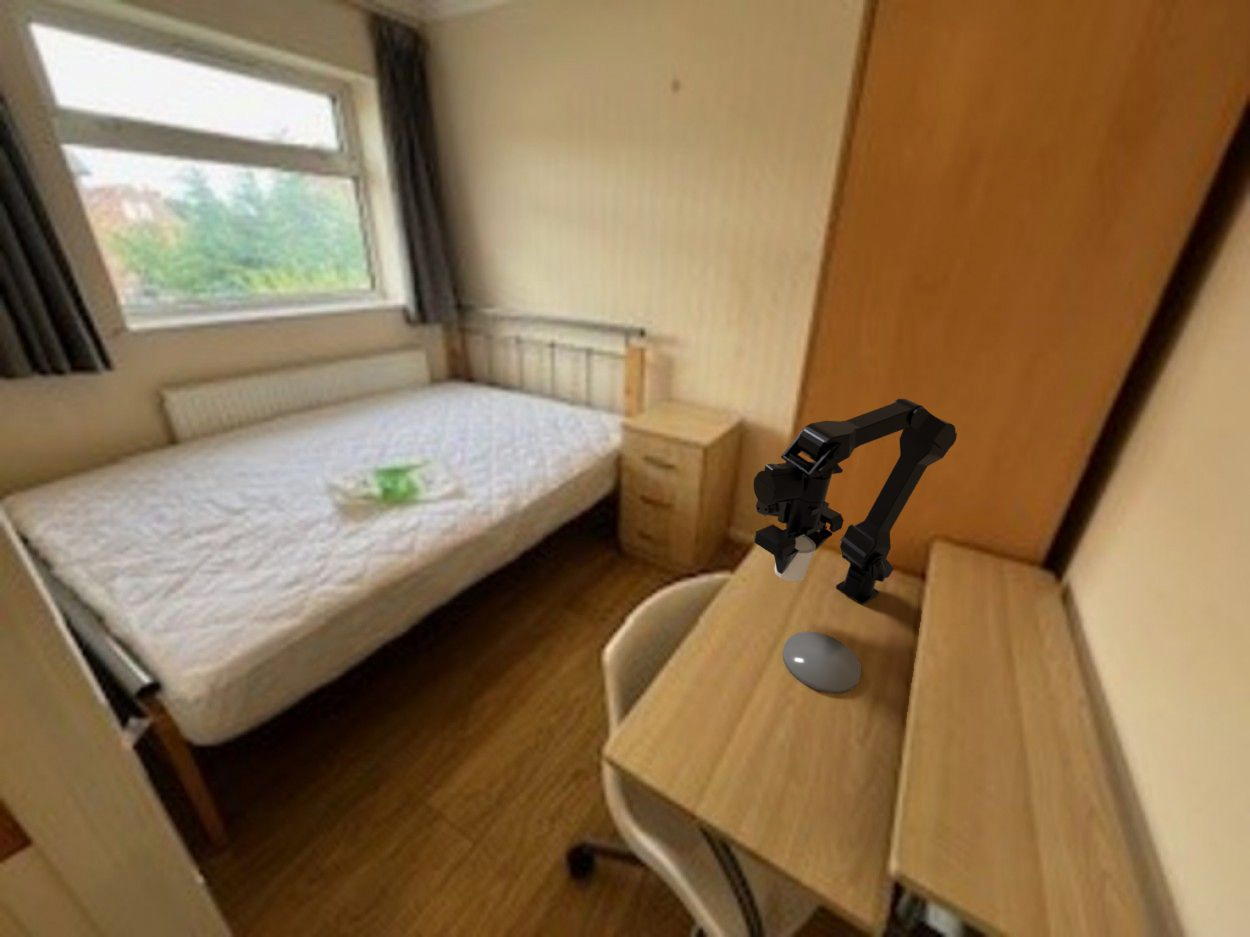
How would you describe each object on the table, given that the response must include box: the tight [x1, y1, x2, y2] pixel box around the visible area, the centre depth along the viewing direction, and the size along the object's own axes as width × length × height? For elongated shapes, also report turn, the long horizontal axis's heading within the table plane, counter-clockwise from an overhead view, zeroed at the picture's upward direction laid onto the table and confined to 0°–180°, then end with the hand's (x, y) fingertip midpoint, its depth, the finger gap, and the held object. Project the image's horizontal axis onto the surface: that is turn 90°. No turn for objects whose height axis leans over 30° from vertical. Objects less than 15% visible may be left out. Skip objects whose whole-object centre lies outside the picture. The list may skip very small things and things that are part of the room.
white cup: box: [774, 535, 816, 583], centre depth 103 cm, size 7×7×7 cm
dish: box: [782, 631, 862, 695], centre depth 96 cm, size 13×13×1 cm
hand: (790, 566), depth 103 cm, fingers closed on white cup, 6 cm apart
